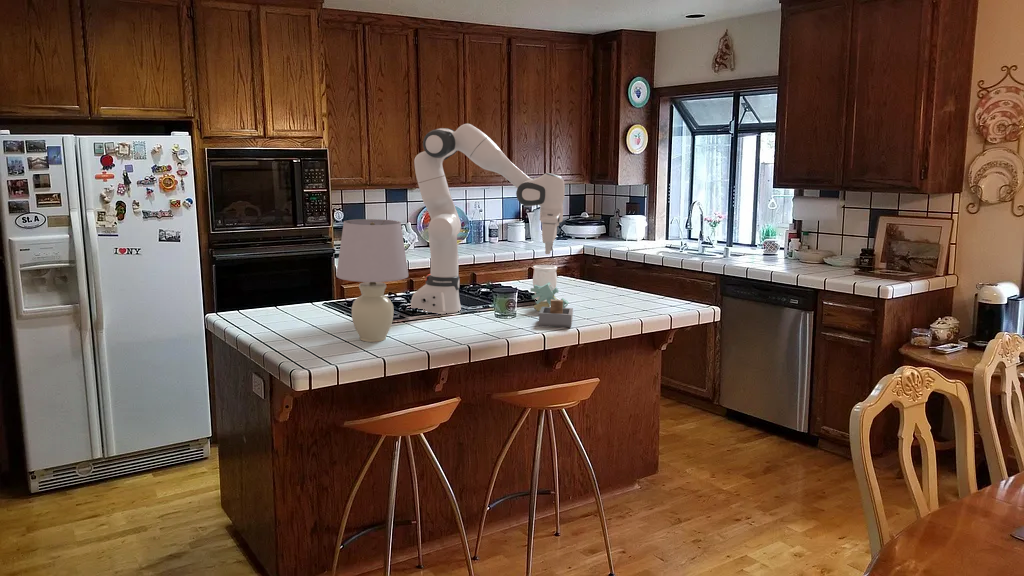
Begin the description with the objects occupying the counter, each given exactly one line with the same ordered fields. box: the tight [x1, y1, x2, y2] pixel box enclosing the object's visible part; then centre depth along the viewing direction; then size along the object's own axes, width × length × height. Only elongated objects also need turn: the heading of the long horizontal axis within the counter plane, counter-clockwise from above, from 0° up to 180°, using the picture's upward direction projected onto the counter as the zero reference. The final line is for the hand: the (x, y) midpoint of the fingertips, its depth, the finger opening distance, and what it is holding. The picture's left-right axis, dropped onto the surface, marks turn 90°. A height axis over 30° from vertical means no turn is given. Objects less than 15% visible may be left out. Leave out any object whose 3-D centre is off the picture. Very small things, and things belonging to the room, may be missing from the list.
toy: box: [530, 282, 570, 312], centre depth 319 cm, size 10×13×15 cm
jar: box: [532, 264, 558, 302], centre depth 338 cm, size 11×10×15 cm
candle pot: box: [538, 306, 574, 328], centre depth 296 cm, size 12×12×5 cm
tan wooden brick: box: [550, 299, 563, 314], centre depth 296 cm, size 4×2×8 cm, turn 83°
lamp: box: [335, 218, 409, 343], centre depth 263 cm, size 24×24×40 cm
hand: (548, 252), depth 301 cm, fingers open, 8 cm apart
